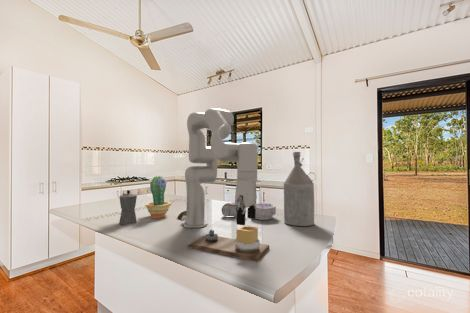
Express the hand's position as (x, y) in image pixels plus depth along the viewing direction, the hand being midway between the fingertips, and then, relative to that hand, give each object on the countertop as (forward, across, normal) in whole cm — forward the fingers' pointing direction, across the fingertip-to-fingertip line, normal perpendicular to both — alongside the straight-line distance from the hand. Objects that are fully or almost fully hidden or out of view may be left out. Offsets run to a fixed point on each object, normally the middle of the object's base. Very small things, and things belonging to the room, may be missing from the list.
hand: (246, 221), depth 87 cm
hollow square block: (+7, 0, +1) cm, 7 cm away
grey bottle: (+12, -51, +10) cm, 53 cm away
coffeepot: (+14, -8, -76) cm, 78 cm away
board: (+12, -1, -8) cm, 14 cm away
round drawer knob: (+10, -2, -16) cm, 19 cm away
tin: (+13, -46, -29) cm, 56 cm away
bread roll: (+14, -33, -53) cm, 64 cm away
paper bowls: (+13, -52, -12) cm, 55 cm away
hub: (+10, 0, +1) cm, 10 cm away
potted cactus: (+14, -28, -72) cm, 78 cm away
